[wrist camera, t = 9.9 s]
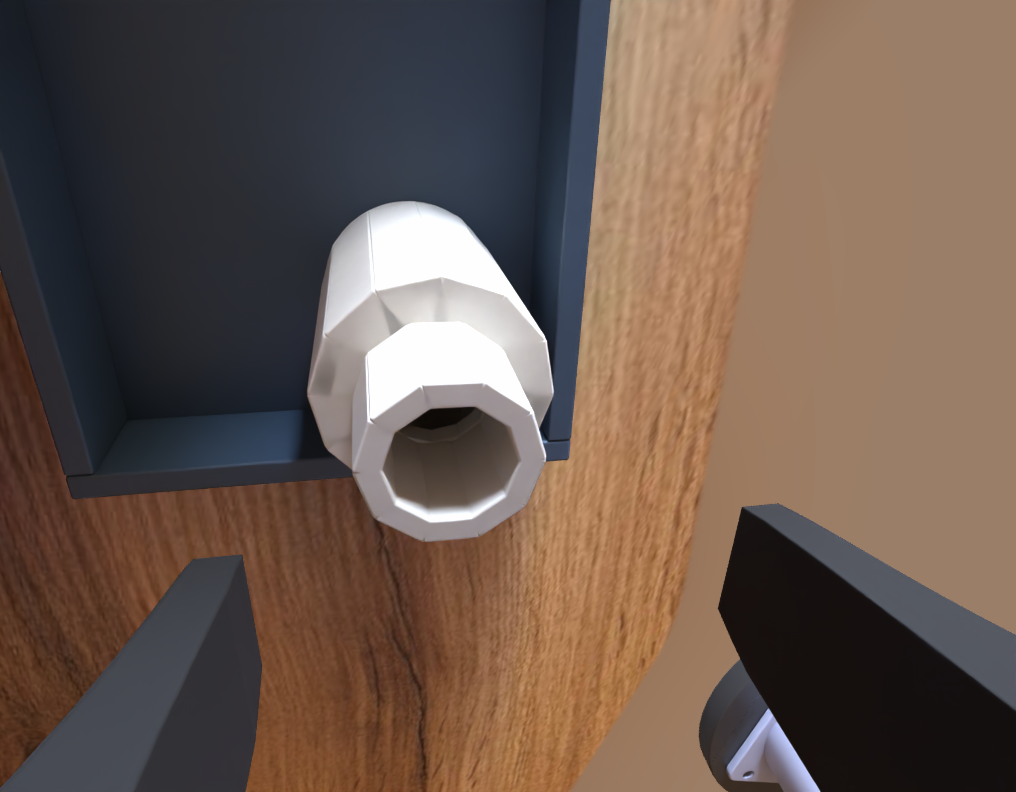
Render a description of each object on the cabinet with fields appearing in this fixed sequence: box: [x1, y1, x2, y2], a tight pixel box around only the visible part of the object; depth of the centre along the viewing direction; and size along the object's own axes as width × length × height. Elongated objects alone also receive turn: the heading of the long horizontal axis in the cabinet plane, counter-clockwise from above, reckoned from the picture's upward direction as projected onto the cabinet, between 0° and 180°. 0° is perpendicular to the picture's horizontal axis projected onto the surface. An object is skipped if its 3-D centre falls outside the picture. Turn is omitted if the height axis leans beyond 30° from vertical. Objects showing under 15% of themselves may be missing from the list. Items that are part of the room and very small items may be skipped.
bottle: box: [307, 201, 554, 542], centre depth 13 cm, size 4×4×8 cm
